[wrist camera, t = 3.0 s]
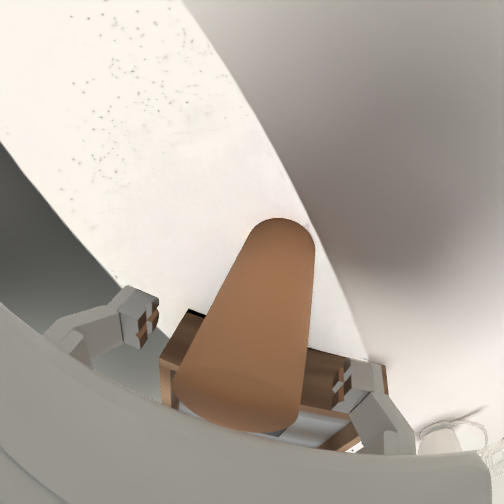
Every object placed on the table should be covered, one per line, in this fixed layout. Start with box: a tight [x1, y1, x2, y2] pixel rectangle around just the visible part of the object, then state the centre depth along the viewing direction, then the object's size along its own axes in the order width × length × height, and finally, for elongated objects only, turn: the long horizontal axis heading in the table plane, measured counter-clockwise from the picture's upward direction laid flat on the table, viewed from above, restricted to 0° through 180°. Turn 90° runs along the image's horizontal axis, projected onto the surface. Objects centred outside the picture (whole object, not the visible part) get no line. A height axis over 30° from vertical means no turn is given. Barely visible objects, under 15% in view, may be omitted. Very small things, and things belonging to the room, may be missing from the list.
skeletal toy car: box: [476, 438, 504, 481], centre depth 23 cm, size 20×11×7 cm, turn 125°
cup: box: [417, 420, 488, 459], centre depth 19 cm, size 7×10×8 cm
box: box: [159, 309, 389, 452], centre depth 22 cm, size 16×16×5 cm
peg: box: [172, 218, 315, 433], centre depth 12 cm, size 4×4×10 cm
